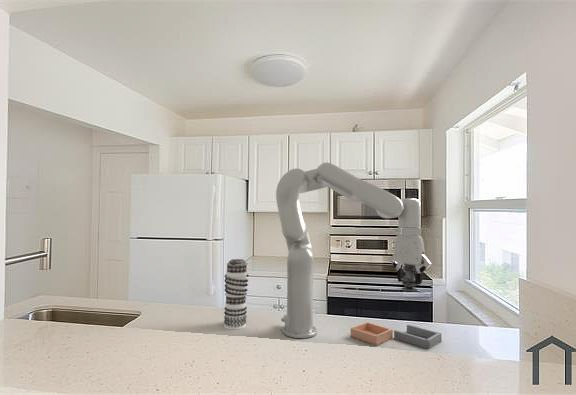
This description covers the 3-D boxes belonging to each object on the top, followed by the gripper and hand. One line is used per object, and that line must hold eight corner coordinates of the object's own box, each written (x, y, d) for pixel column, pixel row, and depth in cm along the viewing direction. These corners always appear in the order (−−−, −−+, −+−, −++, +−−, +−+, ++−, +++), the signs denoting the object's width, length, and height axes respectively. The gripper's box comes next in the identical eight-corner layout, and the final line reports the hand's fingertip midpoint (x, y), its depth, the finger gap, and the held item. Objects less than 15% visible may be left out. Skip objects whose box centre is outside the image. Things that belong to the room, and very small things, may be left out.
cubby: (394, 338, 109) (394, 330, 109) (408, 331, 116) (408, 324, 117) (428, 348, 100) (428, 340, 101) (441, 340, 108) (441, 333, 108)
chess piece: (419, 292, 108) (419, 257, 109) (402, 290, 109) (402, 256, 110) (416, 288, 114) (416, 255, 115) (399, 287, 115) (399, 254, 116)
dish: (350, 336, 110) (350, 328, 110) (367, 330, 117) (367, 321, 117) (376, 345, 102) (376, 336, 102) (392, 338, 109) (392, 329, 109)
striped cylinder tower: (229, 320, 125) (231, 257, 127) (250, 323, 122) (252, 259, 124) (218, 328, 116) (220, 260, 118) (241, 331, 113) (243, 261, 115)
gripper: (382, 231, 117) (382, 280, 115) (428, 233, 104) (429, 288, 103) (392, 231, 122) (392, 278, 121) (437, 233, 109) (438, 285, 108)
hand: (409, 282), depth 112 cm, fingers closed on chess piece, 5 cm apart
